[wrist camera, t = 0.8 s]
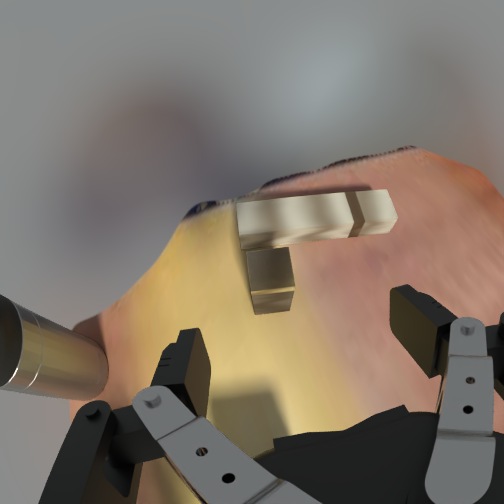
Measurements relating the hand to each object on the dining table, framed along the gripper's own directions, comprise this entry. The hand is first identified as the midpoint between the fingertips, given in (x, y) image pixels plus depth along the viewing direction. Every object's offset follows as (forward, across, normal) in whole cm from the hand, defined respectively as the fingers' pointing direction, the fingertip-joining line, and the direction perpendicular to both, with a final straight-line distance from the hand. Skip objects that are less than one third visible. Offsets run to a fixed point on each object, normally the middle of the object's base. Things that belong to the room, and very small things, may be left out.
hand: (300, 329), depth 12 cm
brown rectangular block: (+26, 0, +10) cm, 27 cm away
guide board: (+32, -8, +4) cm, 33 cm away
